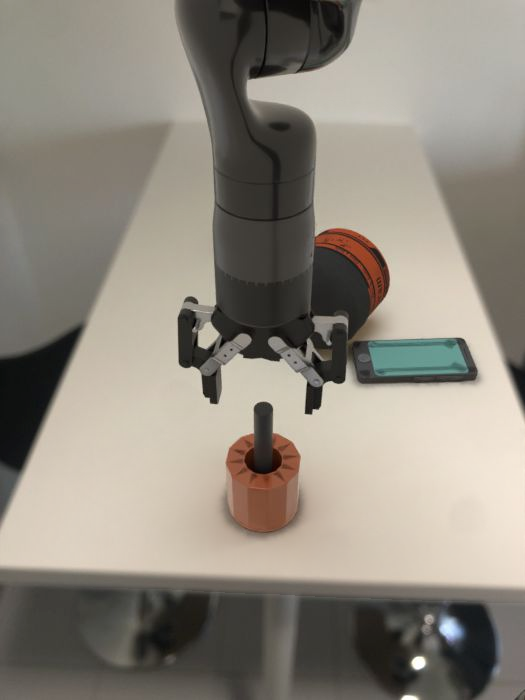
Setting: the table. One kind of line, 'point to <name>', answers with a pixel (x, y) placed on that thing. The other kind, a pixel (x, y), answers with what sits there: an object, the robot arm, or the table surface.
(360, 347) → the smartphone
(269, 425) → the stylus
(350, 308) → the oil filter
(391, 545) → the table surface
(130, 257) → the table surface
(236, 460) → the pen pot
